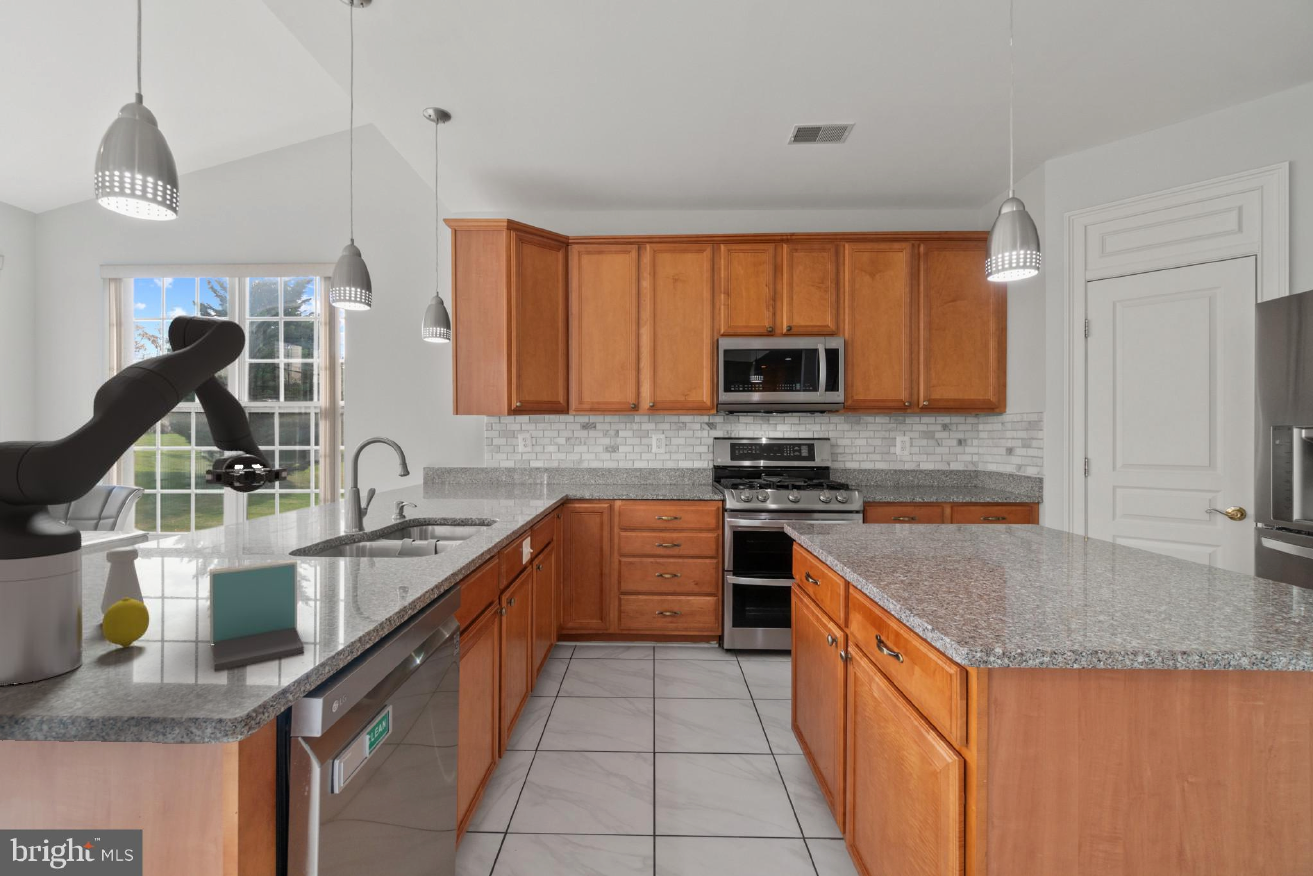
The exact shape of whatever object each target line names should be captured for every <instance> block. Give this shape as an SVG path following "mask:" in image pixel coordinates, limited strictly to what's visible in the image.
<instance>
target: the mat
mask: <svg viewBox="0 0 1313 876" xmlns="http://www.w3.org/2000/svg"><path fill="white" fill-rule="evenodd" d="M297 630H298V629H297ZM297 630H296V628H295V627H293V628H288V629H282V630H277V631H271V632H266V633H260V634H254V635H249V636H243V637H238V638H232V639H227V640H221V641H216V642H214V645H213V654H214V655H213V656H214V657H213V658H214V672H216V671H222V670H226V669H227V670H228V669H232V668H236V667H242V666H245V665H247V666H248V665H251V663H252V664H256V663H262V662H266V661H271V660H275V659H281V658H284V657H283V656H286V657H290V655H291V656H294V655H293V654H295V655H300V654H303V653H305V649H304V648H305V647H304V644H303V642H302V639H301V638H300V635H299V633H298V631H297ZM299 653H300V654H299ZM261 661H262V662H261ZM241 665H242V666H241Z"/></svg>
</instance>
